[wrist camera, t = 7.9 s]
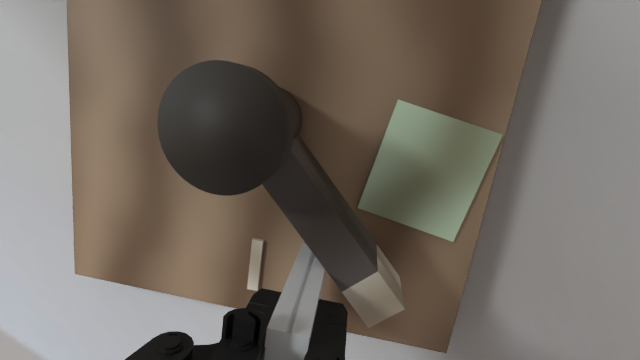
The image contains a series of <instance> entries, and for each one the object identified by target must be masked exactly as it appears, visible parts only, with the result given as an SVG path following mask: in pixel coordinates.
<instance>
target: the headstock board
mask: <svg viewBox="0 0 640 360" xmlns="http://www.w3.org/2000/svg"><path fill="white" fill-rule="evenodd" d="M541 1H542V0H67V26H68V59H69V92H70V125H71V159H72V192H73V225H74V258H75V274H78V275H83V276H88V277H92V278H97V279H102V280H106V281H111V282H116V283H120V284H125V285H130V286H134V287H139V288H144V289H148V290H153V291H158V292H162V293H167V294H172V295H176V296H181V297H186V298H191V299H195V300H200V301H205V302H209V303H214V304H219V305H223V306H228V307H233V308H237V309H239V308H246V306H247V305H248V303H249V301H250V299H251V297H252V296H253V294H254V293H256V292H257V291H259V290H260V289H262V288H264V289H269V290H273V291H278V292H282V291H283V288H284V286H285V283H286V281H287V279H288V276H289V274H290V271H291V269H292V267H293V264H294V262H295V260H296V257H297V255H298V252H299V250H300V248H301V245H302V243H303V244H306V243H305V242H304V240H303V239H302V238H301V236H300V235H299V233H298V232H297V231H296V229H295V228H294V227H293V225H292V224H291V223H290V221H289V220H288V219H287V217H286V216H285V215H284V213H283V212H282V210H281V209H280V208H279V206H278V205H277V204H276V202H275V201H274V200H273V198H272V197H271V196H270V194H269V193H268V192H267V190H266V189H265V187H264V186H263V185H262V184H261V185H260V186H258V187H257V188H255V189H253V190H251V191H248V192H246V193H242V194H239V195H231V196H222V195H215V194H211V193H207V192H205V191H202V190H200V189H198V188H196V187H194V186H192V185H191V184H189V183H188V182H187V181H185V180H184V179H183V178H182V177H181V176H180V175H179V174H178V173H177V172H176V171H175V170H174V169H173V167H172V166H171V164H170V163H169V162H168V160H167V158H166V156H165V154H164V152H163V149H162V147H161V144H160V140H159V136H158V128H157V117H158V110H159V105H160V102H161V99H162V96H163V94H164V92H165V90H166V89H167V87H168V85H169V84H170V83H171V81H172V80H173V79H174V78H175V77H176V76H177V75H178V74H179V73H181V72H182V71H183V70H185V69H186V68H188V67H190V66H192V65H194V64H197V63H200V62H204V61H209V60H223V61H230V62H234V63H238V64H242V65H246V66H250V67H252V68H255V69H257V70H259V71H260V72H262V73H264V74H265V75H267V76H268V77H269V78H271V79H272V80H273V81H274V82H275V83H276V84H277V86H278V87H281V88H283V89H285V90H286V91H288V92H289V93H290V94H291V95H292V96H293V97H294V98H295V99H296V101H297V102H298V104H299V106H300V109H301V113H302V126H301V130H300V133H299V135H298V136H300V137H301V139H302V140H303V141H304V143H305V144H306V146H307V147H308V148H309V150H310V151H311V153H312V154H313V155H314V157H315V158H316V160H317V161H318V162H319V164H320V165H321V167H322V168H323V169H324V171H325V172H326V174H327V175H328V176H329V178H330V179H331V181H332V182H333V183H334V185H335V186H336V188H337V189H338V191H339V192H340V193H341V195H342V196H343V198H344V199H345V200H346V202H347V203H348V205H349V206H350V207H351V209H352V210H353V212H354V213H355V214H356V216H357V217H358V219H359V220H360V221H361V223H362V224H363V226H364V227H365V228H366V230H367V231H368V233H369V234H370V235H371V237H372V238H373V240H374V241H375V243H376V244H377V245H378V247H379V248H380V250H381V251H382V252H383V254H384V255H385V257H386V258H387V259H388V261H389V262H390V264H391V265H392V266H393V268H394V269H395V271H396V272H397V273H398V275H399V276H400V282H401V288H402V295H403V301H404V307H405V309H404V310H402V311H400V312H398V313H396V314H395V315H393V316H391V317H389V318H387V319H385V320H383V321H381V322H379V323H378V324H376V325H374V326H372V327H370V328H368V327H367V326H366V324H365V323H364V321H363V320H362V319H361V317H360V316H359V315H358V313H357V312H356V311H355V309H354V308H353V307H352V305H351V304H350V303H349V301H348V300H347V298H346V297H345V296H344V294H343V293H342V292H341V290H340V289H339V288H338V286H337V285H336V284H335V282H334V281H333V280H332V278H331V277H330V275H329V274H328V273H327V271H325V277H324V283H323V289H322V295H321V299H322V300H327V301H332V302H337V303H342V304H344V306H345V308H346V310H347V312H348V316H347V329H346V330H347V331H346V332H350V333H354V334H359V335H364V336H368V337H373V338H378V339H383V340H387V341H392V342H397V343H401V344H406V345H411V346H415V347H420V348H425V349H429V350H434V351H439V352H443V353H446V352H447V348H448V345H449V341H450V337H451V334H452V330H453V326H454V323H455V319H456V315H457V311H458V308H459V304H460V300H461V297H462V293H463V289H464V286H465V282H466V278H467V275H468V271H469V267H470V264H471V260H472V256H473V252H474V249H475V245H476V241H477V238H478V234H479V230H480V227H481V223H482V219H483V216H484V212H485V208H486V204H487V201H488V197H489V193H490V190H491V186H492V182H493V179H494V175H495V171H496V168H497V164H498V160H499V156H500V153H501V149H502V145H503V142H504V138H505V134H506V131H507V127H508V123H509V120H510V116H511V112H512V109H513V105H514V101H515V97H516V94H517V90H518V86H519V83H520V79H521V75H522V72H523V68H524V64H525V61H526V57H527V53H528V49H529V46H530V42H531V38H532V35H533V31H534V27H535V24H536V20H537V16H538V13H539V9H540V5H541Z"/></svg>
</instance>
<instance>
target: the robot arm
mask: <svg viewBox="0 0 640 360" xmlns="http://www.w3.org/2000/svg"><path fill="white" fill-rule="evenodd" d="M325 271H326V270H325V269H324V267H323V266H322V265H321V263H320V262H319V261H318V259H317V258H316V256H315V255H314V254H313V252H312V251H311V250H310V248H309V247H308V246H307V244H303V243H302V245H301V248H300V250H299V252H298V255H297V257H296V260H295V262H294V264H293V267H292V269H291V271H290V274H289V276H288V279H287V281H286V283H285V286H284V288H283V291H282V292H278V291H273V290H269V289H264V288H262V289H260V290H259V291H257V292H256V293H254V294H253V296H252V297H251V299H250V301H249V303H248V305H247V306H246V308H239V309H234V310H232V311H230V312H228V313H227V314H226V315H225V316H224V318H223V328H222V338H221V340H220V342H219V343H215V344H210V345H193V344H194V342H193V340H192V338H191V337H190V336H189V335H187V334H186V333H182V332H167V333H163V334H160V335H158V336H157V337H155V338H153V339H152V340H150V341H149V342H148V343H146V344H145V345H144V346H142V347H141V348H140V349H138V350H137V351H136V352H134V353H133V354H132V355H130V356H129V357H128V358H126V359H125V360H345V345H346V331H347V330H346V329H347V316H348V312H347V310H346V308H345V306H344V304H342V303H337V302H332V301H327V300H322V299H321V295H322V289H323V283H324V277H325Z"/></svg>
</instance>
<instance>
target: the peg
mask: <svg viewBox="0 0 640 360" xmlns="http://www.w3.org/2000/svg"><path fill="white" fill-rule="evenodd" d="M301 126H302V113H301V109H300V106H299V104H298V102H297V101H296V99H295V98H294V97H293V96H292V95H291V94H290V93H289V92H288V91H286V90H285V89H283V88H281V87H278V86H277V84H276V83H275V82H274V81H273V80H272V79H271V78H269V77H268V76H267V75H265V74H264V73H262V72H260V71H259V70H257V69H255V68H252V67H250V66H246V65H242V64H238V63H234V62H230V61H223V60H209V61H204V62H200V63H197V64H194V65H192V66H190V67H188V68H186V69H185V70H183V71H182V72H181V73H179V74H178V75H177V76H176V77H175V78H174V79H173V80H172V81H171V83H170V84H169V85H168V87H167V89H166V90H165V92H164V94H163V96H162V99H161V102H160V105H159V110H158V117H157V128H158V136H159V140H160V144H161V147H162V149H163V152H164V154H165V156H166V158H167V160H168V162H169V163H170V164H171V166H172V167H173V169H174V170H175V171H176V172H177V173H178V174H179V175H180V176H181V177H182V178H183V179H184V180H185V181H187V182H188V183H189V184H191V185H192V186H194V187H196V188H198V189H200V190H202V191H205V192H207V193H211V194H215V195H222V196H231V195H239V194H242V193H246V192H248V191H251V190H253V189H255V188H257V187H258V186H260V185H261V184H262V185H263V186H264V187H265V189H266V190H267V192H268V193H269V194H270V196H271V197H272V198H273V200H274V201H275V202H276V204H277V205H278V206H279V208H280V209H281V210H282V212H283V213H284V215H285V216H286V217H287V219H288V220H289V221H290V223H291V224H292V225H293V227H294V228H295V229H296V231H297V232H298V233H299V235H300V236H301V238H302V239H303V240H304V242H305V243H306V244H307V246H308V247H309V248H310V250H311V251H312V252H313V254H314V255H315V256H316V258H317V259H318V261H319V262H320V263H321V265H322V266H323V267H324V269H325V270H326V271H327V273H328V274H329V275H330V277H331V278H332V280H333V281H334V282H335V284H336V285H337V286H338V288H339V289H340V290H341V292H342V293H343V294H344V296H345V297H346V298H347V300H348V301H349V303H350V304H351V305H352V307H353V308H354V309H355V311H356V312H357V313H358V315H359V316H360V317H361V319H362V320H363V321H364V323H365V324H366V326H367V327H368V328H370V327H372V326H374V325H376V324H378V323H379V322H381V321H383V320H385V319H387V318H389V317H391V316H393V315H395V314H396V313H398V312H400V311H402V310H404V309H405V307H404V301H403V295H402V288H401V282H400V276H399V275H398V273H397V272H396V271H395V269H394V268H393V266H392V265H391V264H390V262H389V261H388V259H387V258H386V257H385V255H384V254H383V252H382V251H381V250H380V248H379V247H378V245H377V244H376V243H375V241H374V240H373V238H372V237H371V235H370V234H369V233H368V231H367V230H366V228H365V227H364V226H363V224H362V223H361V221H360V220H359V219H358V217H357V216H356V214H355V213H354V212H353V210H352V209H351V207H350V206H349V205H348V203H347V202H346V200H345V199H344V198H343V196H342V195H341V193H340V192H339V191H338V189H337V188H336V186H335V185H334V183H333V182H332V181H331V179H330V178H329V176H328V175H327V174H326V172H325V171H324V169H323V168H322V167H321V165H320V164H319V162H318V161H317V160H316V158H315V157H314V155H313V154H312V153H311V151H310V150H309V148H308V147H307V146H306V144H305V143H304V141H303V140H302V139H301V137H300V136H298V135H299V133H300V130H301Z"/></svg>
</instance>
